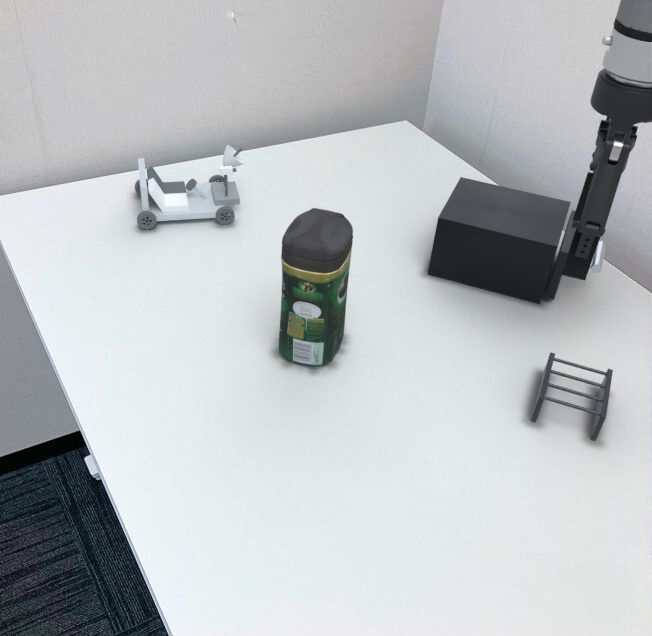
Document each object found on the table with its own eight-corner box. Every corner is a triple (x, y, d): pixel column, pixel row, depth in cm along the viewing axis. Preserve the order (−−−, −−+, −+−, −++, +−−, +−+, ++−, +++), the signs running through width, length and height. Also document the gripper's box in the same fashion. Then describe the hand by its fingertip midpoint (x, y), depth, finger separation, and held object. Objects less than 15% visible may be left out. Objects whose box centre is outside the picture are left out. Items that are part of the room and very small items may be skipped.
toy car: (240, 135, 123) (251, 167, 115) (241, 188, 130) (251, 223, 121) (129, 140, 120) (131, 173, 112) (135, 194, 127) (138, 230, 118)
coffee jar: (293, 317, 103) (299, 197, 91) (348, 330, 101) (362, 209, 89) (269, 361, 96) (272, 236, 84) (328, 375, 94) (340, 251, 82)
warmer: (553, 257, 118) (570, 201, 112) (539, 304, 108) (557, 246, 102) (449, 231, 122) (460, 176, 116) (427, 274, 112) (438, 217, 106)
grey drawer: (597, 264, 115) (614, 219, 110) (588, 309, 106) (606, 262, 101) (467, 232, 121) (477, 188, 115) (448, 272, 112) (457, 226, 106)
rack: (602, 393, 94) (613, 369, 92) (595, 441, 88) (606, 417, 85) (542, 375, 96) (550, 352, 94) (530, 421, 90) (538, 397, 87)
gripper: (607, 34, 88) (559, 195, 102) (590, 110, 70) (534, 294, 84) (674, 45, 86) (616, 207, 100) (674, 126, 68) (603, 311, 82)
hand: (578, 247), depth 92 cm, fingers open, 13 cm apart
